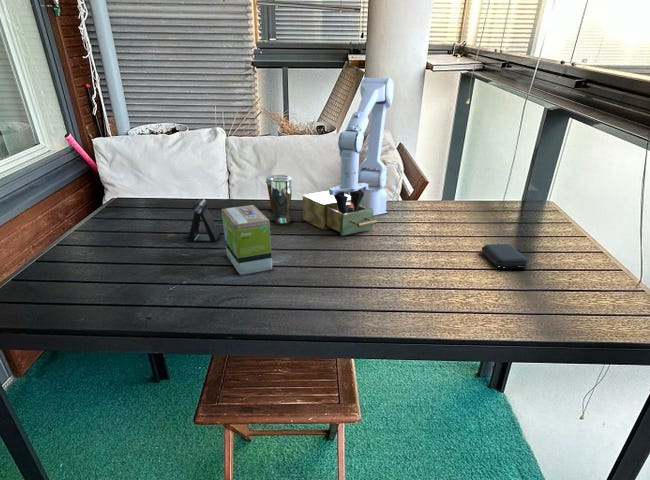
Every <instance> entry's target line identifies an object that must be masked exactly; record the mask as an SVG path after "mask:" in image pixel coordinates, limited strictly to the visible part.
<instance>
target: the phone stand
mask: <svg viewBox="0 0 650 480" xmlns="http://www.w3.org/2000/svg"><path fill="white" fill-rule="evenodd" d="M192 211H193V217H192V222H191V225H190V231H189V236H188V240H187V241H188V242H196V243H197V242H199V243H200V242H203V243H204V242H205V243H211V242H212V243H216V242H217V240H218V238H219V237H220V232H219V229H218V228H217V226H216V223H215V221H214V220H213V217H212V214H211V213H210V211H209V208H208V203H207V200H206V199H204V198H202V200H201V198H199V199H198V200H197V201H196V202H195V203H194V205H193V206H192ZM201 220H202V223H203V225H204V228H205V231H206V232H207V233H199V231H200V223H201Z"/></svg>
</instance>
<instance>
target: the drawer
mask: <svg viewBox="0 0 650 480" xmlns="http://www.w3.org/2000/svg"><path fill="white" fill-rule="evenodd" d="M373 210H374V209H372V208H370V209H367V208H366V207H363V206H361V205H360V204H359V206H358V209H357V211H355V212H350V213H345V214H342V213H341V212H339V208H338V204H337V205H331V206H326V207H325V225H326V226H328V227H330V229H332V230H334V231H336V232H338V233H339V234H340V236H342V237H343V236H348V235H353V234H356V233H357V234H358V233H361V232H365V231H370V230H373V225H377V220H376V219H374V216H373Z"/></svg>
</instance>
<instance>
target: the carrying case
mask: <svg viewBox="0 0 650 480" xmlns="http://www.w3.org/2000/svg"><path fill="white" fill-rule="evenodd" d="M481 252H482V253H483V255H484V256H485V257H486V258H487V259H488V260H489V261H490V262H491V263H492V265H494V266H495V267H496V268H498V269H500V270H513V269H514V270H517V269H525V268H526V267H527V265H528V266H529V264H530V262H529V259H528V258H526V257H525V256H524V255H523V254H522V253H521V252H520V249H518V248H516V247H514V246H512V245H511V244H509V243H489V244H488V243H487V244H484V246H482V247H481ZM495 264H496V265H497V266H496V265H495ZM498 266H500V267H498ZM518 266H526V267H518ZM503 267H505V268H503Z"/></svg>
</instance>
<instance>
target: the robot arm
mask: <svg viewBox="0 0 650 480" xmlns="http://www.w3.org/2000/svg"><path fill="white" fill-rule="evenodd" d="M394 87H395V86H394V81H393V79H392V78H391V77H389V78H381V77H365V76H364V78H363V79H362V80H361V82H360V87H359V88H360V91H359V92H360V96H361V97H360V98H361V99H360V102H359V105H358V108H357V111H355V112H353V113H352V114H351V117H350V119H349V121H348V123H347V125H346V127H345V130H343V131H342V132H340V133H339V136H338V142H337V146H338V150H339V151H338V153H339V157H340V179H339V180H340V181H339V182H340V183H339V185H335V186H334V187H331V188H328V191H329V195H331V196H334V198H335V200H336V202H337V204H338V208H339V212H341V213H342V214H345V212H346V203H347V199H348V196H351V203H353V205H354V206H355V211H357V209H358V206H359V205H361V206H363V207H366V208H367V209H370V208H372V209H374V210H373V217H374V216H378V215H383V214H387V213H388V211H387V203H388V202H387V200H388V193H387V190H386V188H385V187H386V184H387V175H388V174H387V170H388V169H387V166H386V164H384V162H382V161H381V155H382V146H383V139H384V130H385V122H386V115H387V109H390V108H391V107H392V103H393V97H394ZM370 114H371V115H370ZM369 115H370V119H369V117H368V116H369ZM369 121H370V125H369ZM368 125H369V133H368V141H367V142H368V143H367V152H366V159H365V160H364V161H362V162H361V163H360V152H361V151H362V148H363V145H364V138H365V132H366V131H367V127H368ZM359 163H360V164H359ZM348 193H349V195H348V196H345V194H348Z"/></svg>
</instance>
